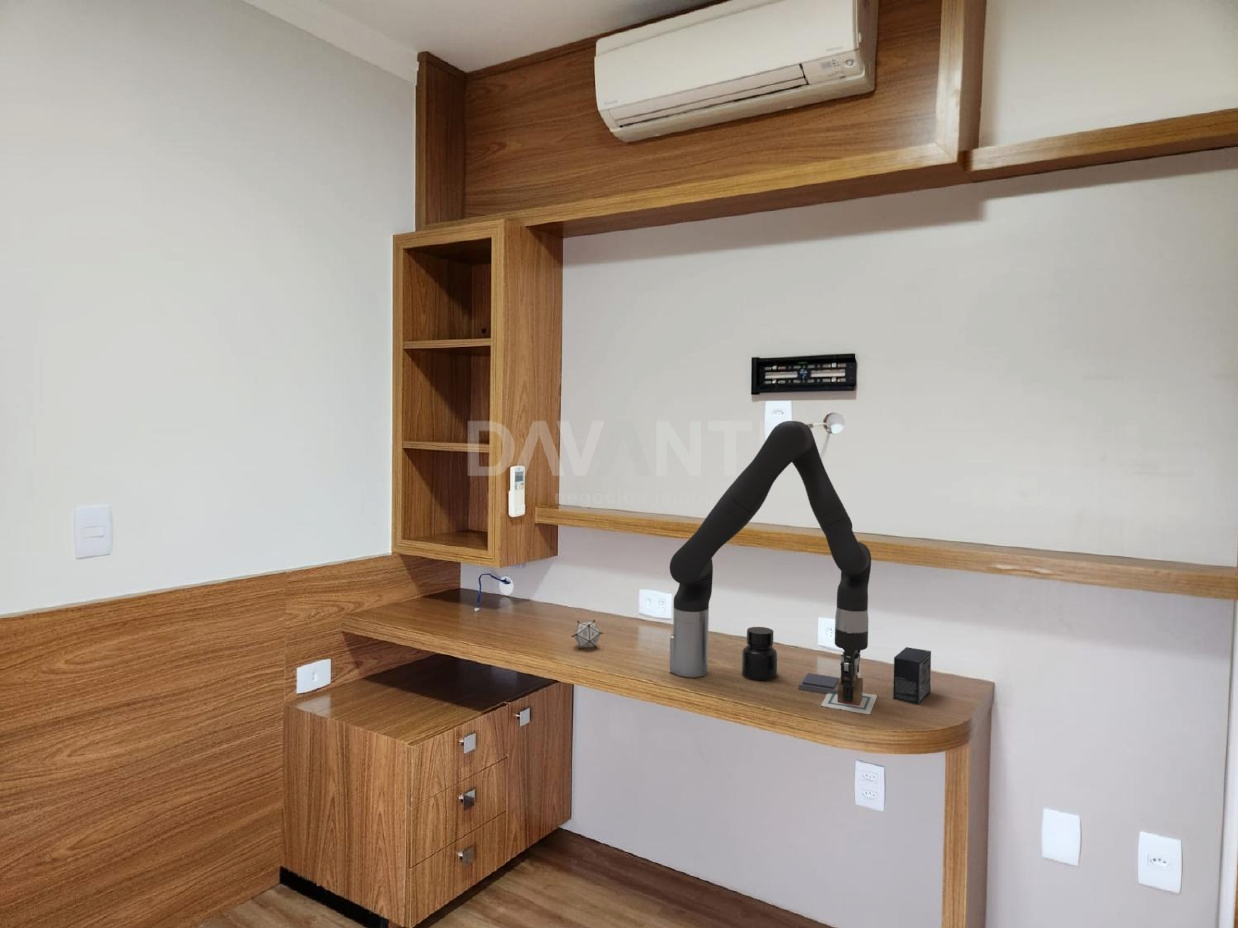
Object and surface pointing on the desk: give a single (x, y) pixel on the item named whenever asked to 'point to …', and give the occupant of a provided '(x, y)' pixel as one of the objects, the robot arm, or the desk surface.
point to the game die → (587, 634)
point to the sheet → (864, 706)
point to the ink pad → (819, 683)
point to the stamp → (856, 691)
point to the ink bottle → (759, 655)
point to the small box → (912, 675)
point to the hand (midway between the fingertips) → (849, 696)
